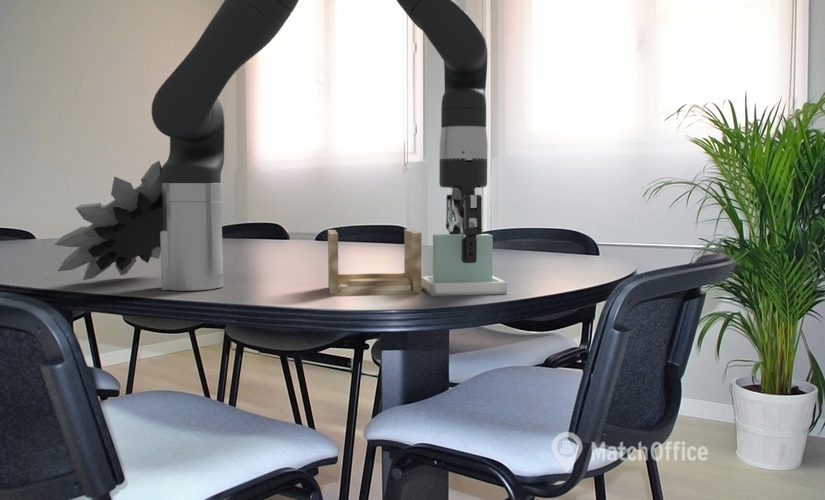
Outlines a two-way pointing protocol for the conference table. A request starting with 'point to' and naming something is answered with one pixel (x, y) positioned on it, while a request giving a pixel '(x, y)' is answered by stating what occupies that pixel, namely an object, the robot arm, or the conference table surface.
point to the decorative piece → (119, 227)
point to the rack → (410, 272)
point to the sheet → (451, 265)
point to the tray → (463, 287)
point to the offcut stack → (376, 285)
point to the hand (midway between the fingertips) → (462, 259)
